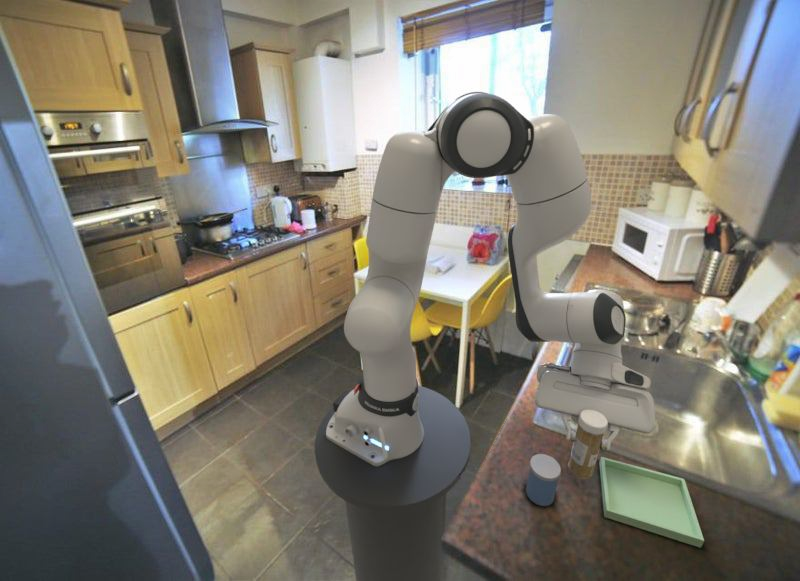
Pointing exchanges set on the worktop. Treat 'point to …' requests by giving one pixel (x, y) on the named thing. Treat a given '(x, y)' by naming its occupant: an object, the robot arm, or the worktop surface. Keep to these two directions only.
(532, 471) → the blue tin
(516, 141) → the robot arm
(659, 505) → the sage tray
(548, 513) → the worktop surface
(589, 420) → the sprinkles bottle
